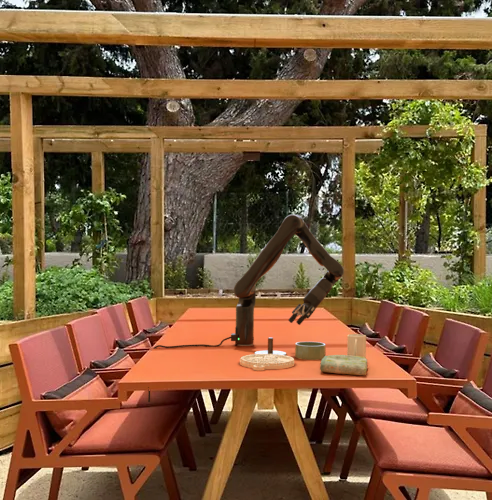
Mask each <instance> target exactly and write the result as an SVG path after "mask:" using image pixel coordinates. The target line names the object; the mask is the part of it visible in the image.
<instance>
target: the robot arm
mask: <svg viewBox="0 0 492 500" xmlns="http://www.w3.org/2000/svg"><path fill="white" fill-rule="evenodd" d="M294 235H295V236H296V237H298V239H299V240H300V241H301V242H302V243H303V244H304V246H305V247H306V249H307V251H308V252H309V254H310V255H311V256H312V258H313V259H314V260H315V261H316V263H318V265H319V266H320V267H324V268H325V269H326V270H327V271H326V272H325V273H324V274H323V276H322V278H320V279H319V280H318V281H317V283H316V284H315V285H314V286H313V287H312V288H311V289H310V290H309V291H308V293H307V294H306V295H305V296H304V297H303V299H302V302H303V303H302V304H301V303H298V304H297V306H296V307H295V308H294V309H293V310H292V311H291V313H292V315H291V316H290V317H289V318H288V322H289V323H291V324H293V322H294V321H295V320H296V319H297V318H298V317H299V318H298V319H297V320H296V321H295V322H296V324H297V325H299V326H300V325H301V324H303V322H304V321H305V320H309V319H310V317H311V316H312V315H313V313H315V311H316V309H317V308H318V307H319V305H321V303H322V302H323V300H324V299H325V298H326V296H327V295H328V294H329V293H330V292H331V290H332V288H333V287H334V286H335V285H336V283H337V282H338V281H339V280H340V279H341V278H342V277H343V276H344V274H345V269H344V266H343V265H342V264H341V263H340V262H339V261H338V260H337V259H335V258H334V257H333V256H332V255H331V254H330V253H329V252H328V250H326V248H325V247H324V246H323V245H322V244H321V243H320V241H319V240H318V239H317V238H316V237H315V236H314V234H313V233H312V232H311V230H310V229H309V228H308V225H307V224H306V222H305V220H304V219H303V217H302V216H301V215H299V214H289V215H287V216H286V217H285V218H284V219H283V221H282V223H280V226H279V227H278V230H276V233H275V234H274V235H273V236H272V237H271V239H270V240H269V241H268V242H267V244H266V245H265V246H264V247H263V248H262V249H261V251H260V252H259V254H258V255H257V257H256V258H255V260H254V261H253V262H252V264H251V265H250V266H249V268H248V269H247V271H246V272H245V273H244V274H243V275H242V276H241V278H239V280H238V281H236V283H235V284H234V286H233V294H234V296H235V297H236V298H237V299H238V302H237V305H236V306H235V327H234V330H235V333H234V332H233V333H231V334H230V336H228V337H225V338H223V339H222V340H221V342H220V343H219V344H216V345H213V344H212V345H211V344H200V343H199V344H181V345H180V344H179V345H169V346H168V345H167V346H166V345H163V344H157V345H155V346H154V347H153V349H157V348H165V349H176V348H183V347H184V348H185V347H188V348H189V347H209V348H211V347H213V348H216V347H221V346H222V345H223V343H224V341H227V340H230V341H231V342H234V347H253V346H254V345H255V343H254V341H255V335H254V334H255V307H256V299H257V298H256V297H257V288H256V284H257V282H258V281H259V280H260V279H262V277H264V275H266V274H267V273H268V272H269V271H270V270H271V269H272V268H273V267H274V266H275V264H277V262H278V260H279V259H280V257H281V256H282V254H283V251H284V249H285V248H286V246H287V244H288V243H289V241H290V240H291V239H292V237H293V236H294ZM147 400H148V401H147V402H148V403H150V402H151V390H150V391H149V390H148V399H147Z"/></svg>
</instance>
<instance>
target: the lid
mask: <svg viewBox="0 0 492 500" xmlns="http://www.w3.org/2000/svg"><path fill="white" fill-rule="evenodd" d="M253 354H278V355H285V356H287V352H286V351H282V350H274V337H267V350H266V349H265V350H257V351H255V352H254V353H253Z"/></svg>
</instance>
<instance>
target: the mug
mask: <svg viewBox="0 0 492 500" xmlns="http://www.w3.org/2000/svg"><path fill="white" fill-rule="evenodd" d="M346 337H347V339H346V340H347V341H346V355H349V356H361V357H365V358H366V359H367V335H366V334H361V333H350V334H347V336H346Z"/></svg>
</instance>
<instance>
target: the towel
mask: <svg viewBox="0 0 492 500" xmlns="http://www.w3.org/2000/svg"><path fill="white" fill-rule="evenodd" d="M320 360H321V359H320ZM319 370H320V372H322V373H328V374H329V373H330V374H339V375H341V374H342V375H350V376H351V375H352V376H366V375H367V371H368V358H367V357H366V358H365V357H361V356H349V355H347V354H328V355H325V356H324V358H323V359H322V360H321V361H320V365H319Z"/></svg>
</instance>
